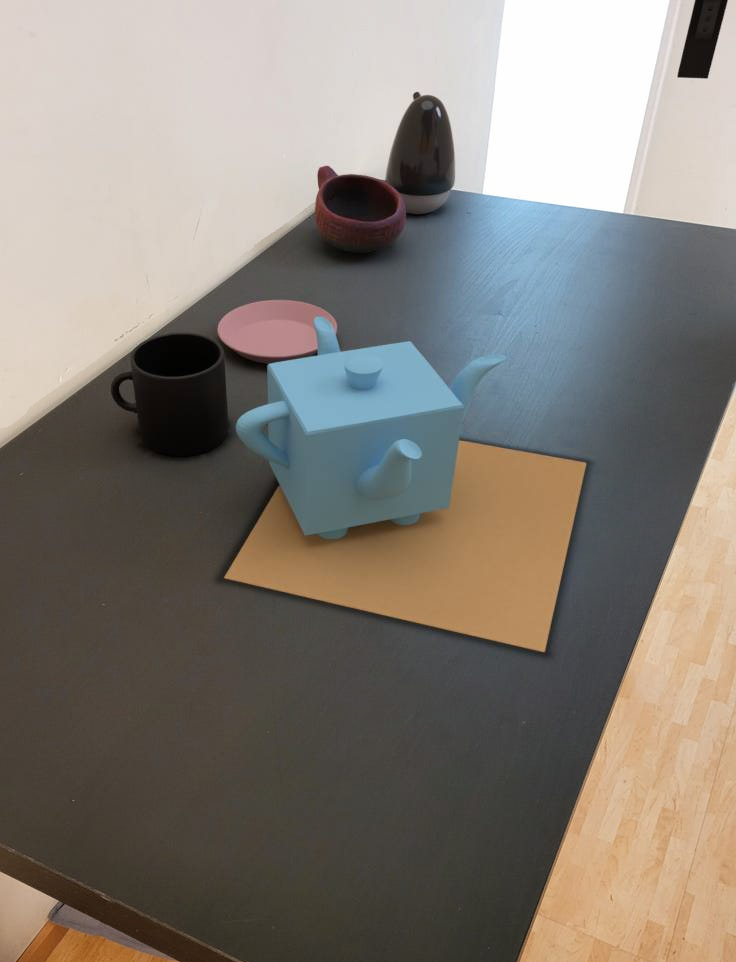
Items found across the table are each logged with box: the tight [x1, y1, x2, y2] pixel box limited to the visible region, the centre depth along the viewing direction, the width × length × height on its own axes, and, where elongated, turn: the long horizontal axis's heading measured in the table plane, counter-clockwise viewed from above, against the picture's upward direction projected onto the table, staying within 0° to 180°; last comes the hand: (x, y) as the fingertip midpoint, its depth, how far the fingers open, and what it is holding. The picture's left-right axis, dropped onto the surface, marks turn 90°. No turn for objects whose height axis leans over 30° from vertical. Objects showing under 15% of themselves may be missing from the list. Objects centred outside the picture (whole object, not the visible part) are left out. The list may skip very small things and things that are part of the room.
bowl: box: [314, 165, 407, 254], centre depth 130 cm, size 16×13×8 cm
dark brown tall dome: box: [384, 91, 456, 215], centre depth 136 cm, size 10×10×15 cm
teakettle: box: [235, 317, 507, 539], centre depth 85 cm, size 19×19×15 cm
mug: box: [110, 332, 229, 457], centre depth 97 cm, size 9×12×9 cm
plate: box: [217, 299, 338, 365], centre depth 112 cm, size 14×14×2 cm
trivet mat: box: [223, 439, 587, 654], centre depth 88 cm, size 28×28×1 cm
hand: (692, 75), depth 89 cm, fingers closed
